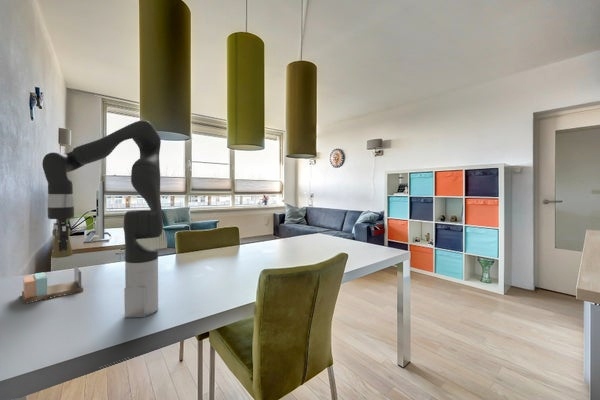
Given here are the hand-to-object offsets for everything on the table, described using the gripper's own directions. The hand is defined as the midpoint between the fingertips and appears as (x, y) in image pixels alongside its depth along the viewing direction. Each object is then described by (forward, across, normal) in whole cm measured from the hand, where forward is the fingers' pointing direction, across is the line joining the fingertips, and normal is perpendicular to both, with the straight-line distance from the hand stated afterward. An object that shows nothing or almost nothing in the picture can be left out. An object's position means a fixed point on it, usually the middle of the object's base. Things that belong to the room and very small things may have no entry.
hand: (62, 250), depth 101 cm
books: (+15, 0, +8) cm, 16 cm away
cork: (+2, 0, 0) cm, 2 cm away
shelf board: (+16, 0, +3) cm, 16 cm away
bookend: (+15, 0, -4) cm, 15 cm away
